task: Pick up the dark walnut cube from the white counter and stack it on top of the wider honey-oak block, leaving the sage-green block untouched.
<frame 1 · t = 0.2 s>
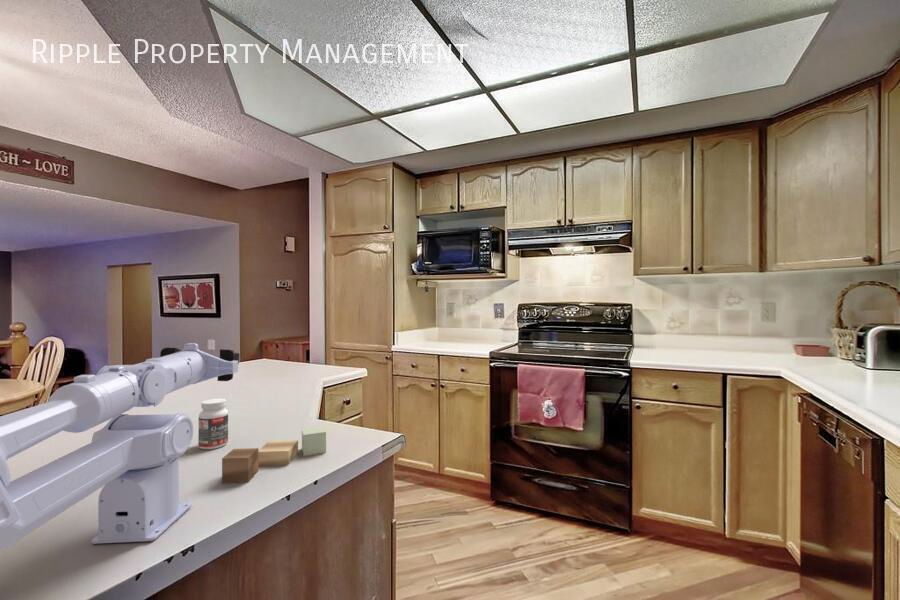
hand: (217, 357, 78), 21 cm above the counter, tool horizontal, fingers open, 7 cm apart
oak block: (278, 460, 81), on the counter
walnut cube: (240, 477, 73), on the counter
sage block: (313, 451, 86), on the counter
pill bottle: (213, 446, 89), on the counter
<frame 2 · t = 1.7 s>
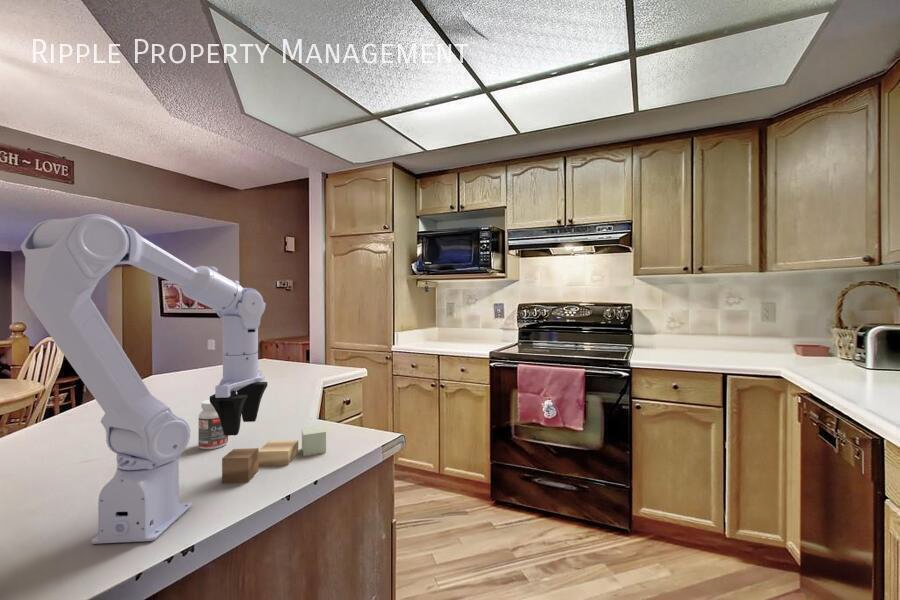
hand: (240, 427, 73), 9 cm above the counter, tool pointing down, fingers open, 7 cm apart
nothing on the counter moved.
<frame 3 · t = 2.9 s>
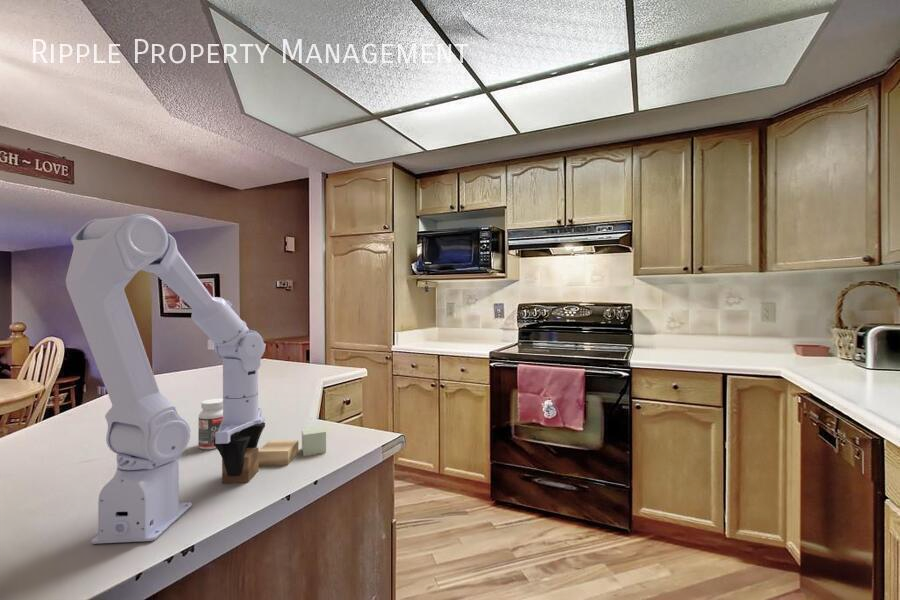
hand: (240, 469, 73), 1 cm above the counter, tool pointing down, fingers closed on walnut cube, 4 cm apart
walnut cube: (240, 477, 73), on the counter, touching gripper
everything else where it was.
when the fingers open (6 cm above the counter, at t = 5.7 s): walnut cube drops 1 cm, resting on oak block.
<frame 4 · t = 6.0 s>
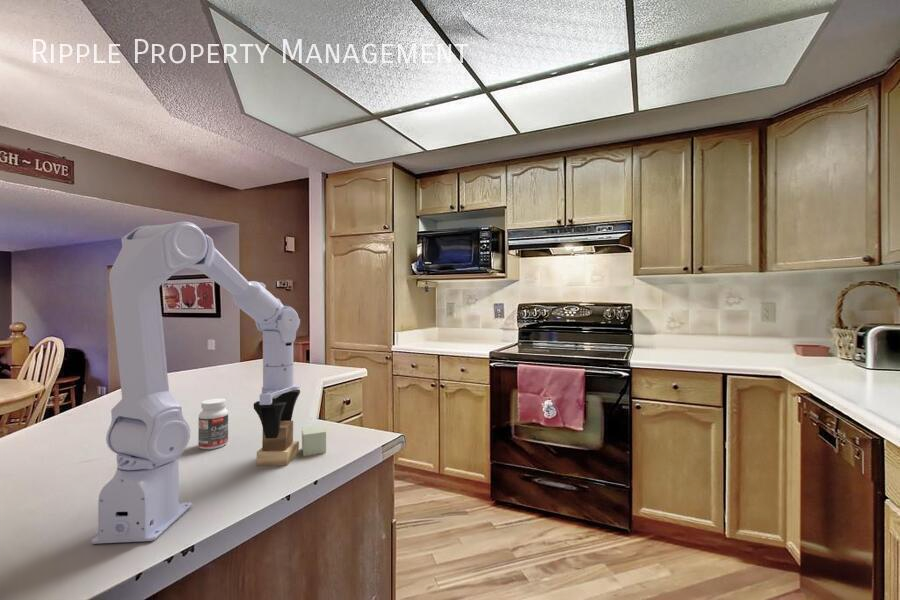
hand: (278, 431, 81), 6 cm above the counter, tool pointing down, fingers open, 7 cm apart
oak block: (278, 461, 81), on the counter, touching walnut cube
walnut cube: (278, 446, 81), point 3 cm above the counter, touching oak block
everything else where it was.
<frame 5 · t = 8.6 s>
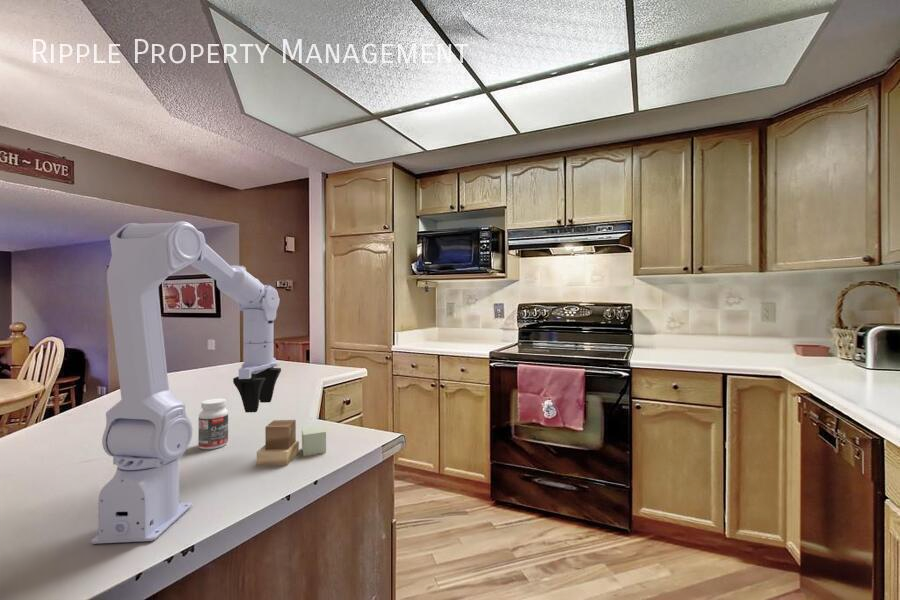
hand: (258, 406, 84), 10 cm above the counter, tool pointing down, fingers open, 7 cm apart
nothing on the counter moved.
at the end: walnut cube 0.5 cm off-centre on the oak block, point 3.0 cm above the oak block's base; walnut cube tilted 0°; the gripper is holding nothing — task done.
